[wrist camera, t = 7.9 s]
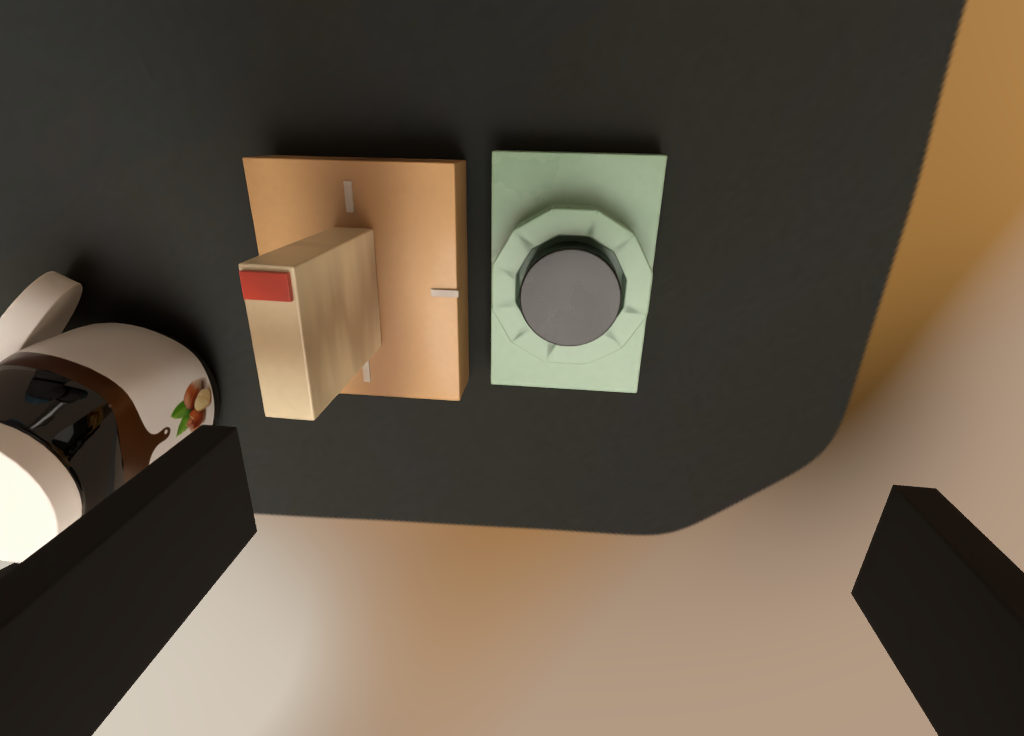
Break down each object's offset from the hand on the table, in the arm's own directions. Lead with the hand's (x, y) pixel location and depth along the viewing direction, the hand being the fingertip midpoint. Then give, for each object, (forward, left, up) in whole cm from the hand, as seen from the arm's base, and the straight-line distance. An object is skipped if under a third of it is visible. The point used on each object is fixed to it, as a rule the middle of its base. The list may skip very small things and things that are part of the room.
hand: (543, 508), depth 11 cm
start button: (0, 0, -16) cm, 16 cm away
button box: (0, 0, -19) cm, 19 cm away
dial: (0, -10, -16) cm, 19 cm away
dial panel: (0, -10, -19) cm, 22 cm away
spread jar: (+7, -26, -19) cm, 33 cm away
